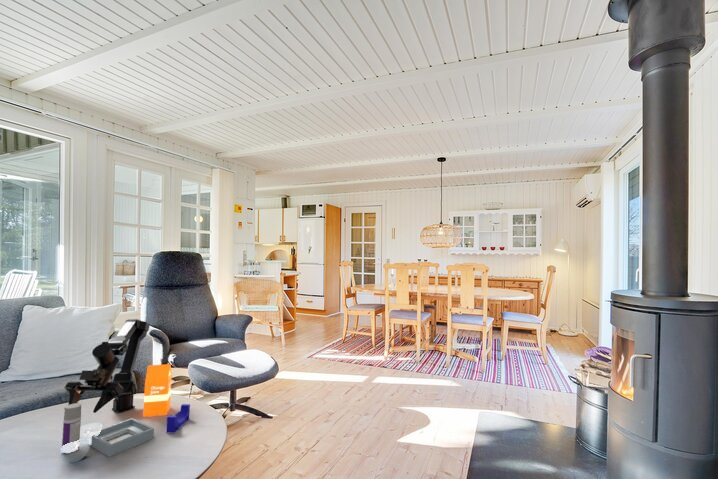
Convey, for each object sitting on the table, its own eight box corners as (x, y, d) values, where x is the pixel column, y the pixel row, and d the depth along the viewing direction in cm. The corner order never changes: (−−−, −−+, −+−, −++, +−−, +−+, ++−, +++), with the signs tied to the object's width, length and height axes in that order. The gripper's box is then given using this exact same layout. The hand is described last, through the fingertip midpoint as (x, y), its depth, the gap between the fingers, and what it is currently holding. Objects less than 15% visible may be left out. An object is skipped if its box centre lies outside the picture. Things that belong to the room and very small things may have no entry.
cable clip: (178, 418, 149) (179, 404, 149) (189, 419, 149) (189, 404, 149) (162, 433, 137) (163, 417, 137) (174, 433, 137) (174, 417, 137)
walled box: (131, 427, 140) (132, 418, 140) (153, 437, 133) (154, 428, 133) (87, 444, 127) (87, 433, 127) (109, 456, 120) (109, 446, 120)
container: (58, 451, 122) (61, 406, 123) (74, 445, 126) (77, 402, 127) (65, 455, 120) (68, 409, 121) (81, 449, 124) (84, 404, 125)
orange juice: (147, 409, 156) (150, 362, 157) (170, 407, 159) (172, 361, 160) (142, 417, 149) (145, 368, 150) (166, 415, 152) (168, 366, 152)
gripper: (70, 359, 133) (41, 401, 122) (120, 360, 133) (96, 402, 122) (84, 374, 141) (59, 415, 129) (132, 375, 141) (111, 416, 129)
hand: (81, 412), depth 127 cm, fingers open, 9 cm apart
